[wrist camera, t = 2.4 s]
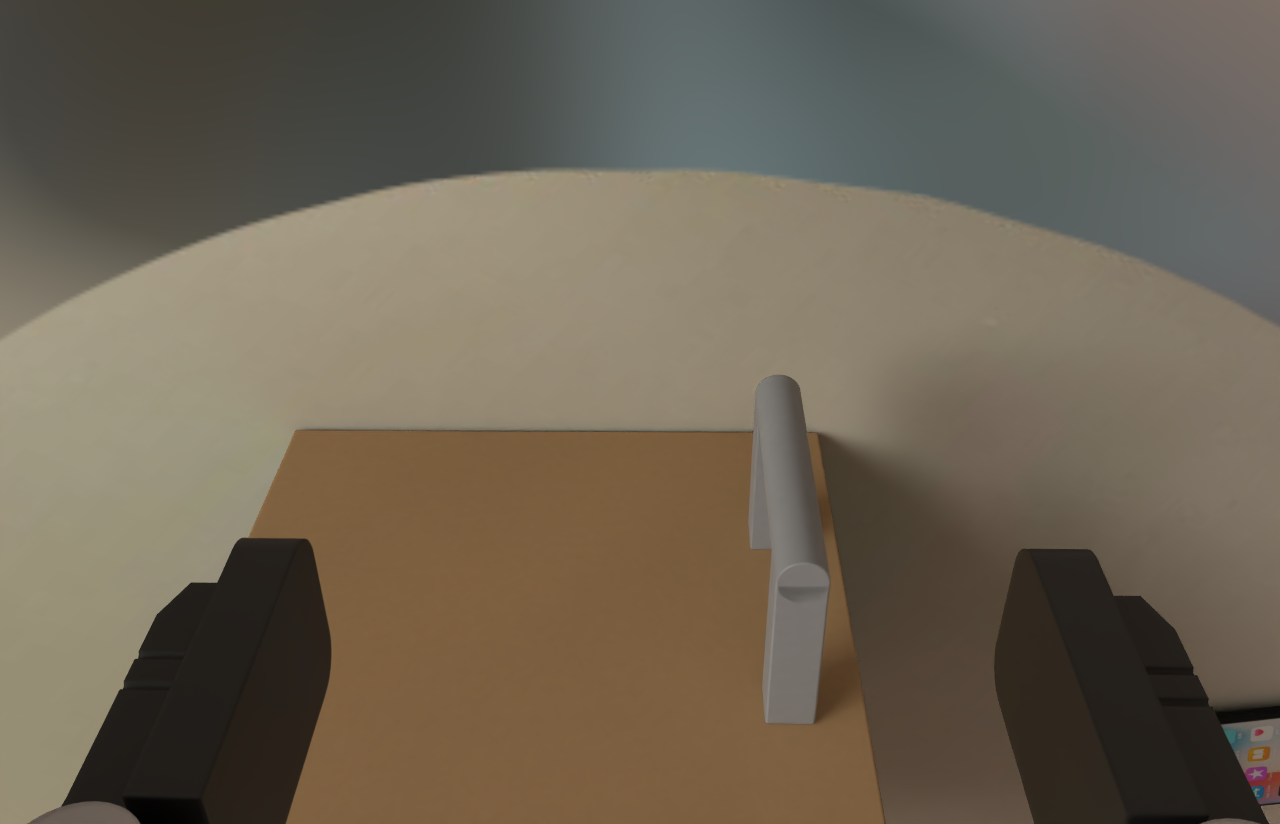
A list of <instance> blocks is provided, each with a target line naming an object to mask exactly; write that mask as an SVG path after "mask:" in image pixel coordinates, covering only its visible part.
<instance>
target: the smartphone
mask: <svg viewBox="0 0 1280 824" xmlns="http://www.w3.org/2000/svg"><path fill="white" fill-rule="evenodd" d="M1216 715H1217V717H1218V720H1219V722H1220V724H1221V726H1222V728H1223V730H1224V732H1225V734H1226V736H1227V738H1228V740H1229V742H1230V745H1231V747H1232V749H1233V751H1234V753H1235V755H1236V757H1237V759H1238V761H1239V763H1240V765H1241V767H1242V769H1243V772H1244V774H1245V776H1246V778H1247V780H1248V782H1249V784H1250V786H1251V788H1252V790H1253V792H1254V794H1255V796H1256V799H1257V801H1258V803H1259V805H1260V806H1263V805H1273V804H1280V706H1278V707H1268V708H1259V709H1250V710H1241V711H1231V712H1222V713H1216Z"/></svg>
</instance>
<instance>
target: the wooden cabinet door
mask: <svg viewBox="0 0 1280 824" xmlns="http://www.w3.org/2000/svg"><path fill="white" fill-rule="evenodd" d="M248 538H305V539H308V540H309V542H310V543H311V545H312V548H313V552H314V556H315V561H316V566H317V571H318V575H319V580H320V585H321V590H322V595H323V600H324V605H325V610H326V615H327V620H328V625H329V630H330V635H331V648H332V657H331V670H330V678H329V683H328V687H327V691H326V695H325V698H324V701H323V704H322V708H321V711H320V714H319V717H318V721H317V724H316V727H315V730H314V734H313V737H312V740H311V743H310V747H309V750H308V753H307V756H306V760H305V763H304V766H303V769H302V773H301V776H300V779H299V782H298V786H297V789H296V792H295V795H294V799H293V802H292V805H291V808H290V812H289V815H288V818H287V821H286V824H886V822H885V816H884V811H883V805H882V799H881V793H880V788H879V782H878V776H877V770H876V765H875V759H874V753H873V747H872V741H871V736H870V730H869V724H868V718H867V713H866V707H865V701H864V695H863V690H862V684H861V678H860V672H859V667H858V661H857V655H856V649H855V644H854V638H853V632H852V626H851V621H850V615H849V609H848V603H847V598H846V592H845V586H844V580H843V574H842V569H841V563H840V557H839V551H838V546H837V540H836V534H835V528H834V523H833V517H832V511H831V505H830V500H829V494H828V488H827V482H826V477H825V471H824V465H823V459H822V454H821V448H820V442H819V436H818V434H817V433H807V430H806V423H805V417H804V411H803V405H802V399H801V392H800V388H799V385H798V384H797V382H796V381H795V380H793V379H792V378H790V377H788V376H785V375H772V376H769V377H767V378H765V379H764V380H762V381H761V382H760V384H759V385H758V386H757V389H756V393H755V409H754V427H753V433H737V432H536V431H335V430H296V431H295V433H294V435H293V437H292V439H291V442H290V444H289V446H288V449H287V451H286V453H285V455H284V458H283V460H282V462H281V464H280V467H279V469H278V471H277V474H276V476H275V478H274V480H273V483H272V485H271V487H270V490H269V492H268V494H267V496H266V499H265V501H264V503H263V505H262V508H261V510H260V512H259V515H258V517H257V519H256V521H255V524H254V526H253V528H252V531H251V533H250V535H249V537H248Z"/></svg>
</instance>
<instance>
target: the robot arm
mask: <svg viewBox="0 0 1280 824" xmlns="http://www.w3.org/2000/svg"><path fill="white" fill-rule="evenodd" d="M331 657H332V648H331V635H330V630H329V625H328V620H327V615H326V610H325V605H324V600H323V595H322V590H321V585H320V580H319V575H318V571H317V566H316V561H315V556H314V552H313V548H312V545H311V543H310V542H309V540H308V539H305V538H241V539H239V540H238V541H237V542H236V544H235V545H234V547H233V549H232V551H231V554H230V556H229V558H228V560H227V562H226V565H225V567H224V569H223V571H222V574H221V576H220V578H219V580H218V583H190V584H189V585H188V586H187V587H186V588H185V589H184V590H183V591H182V592H181V593H179V594H178V595H177V596H176V597H175V598H174V599H173V600H172V601H171V602H170V603H169V604H168V605H167V606H166V607H165V608H163V609H162V610H161V611H160V612H159V613H158V614H157V615H156V617H155V619H154V621H153V623H152V625H151V627H150V630H149V632H148V634H147V636H146V638H145V640H144V642H143V644H142V646H141V648H140V650H139V657H138V659H135V660H134V662H133V664H132V666H131V668H130V670H129V672H128V674H127V676H126V678H125V680H124V688H123V689H120V690H119V692H118V694H117V696H116V698H115V700H114V702H113V704H112V706H111V708H110V710H109V713H108V715H107V717H106V719H105V721H104V723H103V725H102V727H101V729H100V731H99V733H98V735H97V737H96V739H95V741H94V743H93V745H92V747H91V749H90V751H89V753H88V755H87V757H86V759H85V761H84V763H83V765H82V767H81V769H80V771H79V773H78V775H77V777H76V779H75V781H74V783H73V785H72V787H71V789H70V791H69V793H68V796H67V798H66V799H65V801H64V803H63V804H62V806H61V807H59V808H57V809H54V810H52V811H49V812H47V813H45V814H43V815H41V816H39V817H38V818H36V819H34V820H32V821H31V822H30V823H28V824H286V821H287V818H288V815H289V812H290V808H291V805H292V802H293V799H294V795H295V792H296V789H297V786H298V782H299V779H300V776H301V773H302V769H303V766H304V763H305V760H306V756H307V753H308V750H309V747H310V743H311V740H312V737H313V734H314V730H315V727H316V724H317V721H318V717H319V714H320V711H321V708H322V704H323V701H324V698H325V695H326V691H327V687H328V683H329V678H330V670H331ZM994 670H995V684H996V691H997V697H998V701H999V705H1000V708H1001V711H1002V715H1003V718H1004V722H1005V725H1006V728H1007V732H1008V735H1009V739H1010V742H1011V745H1012V749H1013V752H1014V756H1015V759H1016V762H1017V766H1018V769H1019V773H1020V776H1021V780H1022V783H1023V786H1024V790H1025V793H1026V797H1027V800H1028V803H1029V807H1030V810H1031V814H1032V817H1033V820H1034V824H1269V823H1268V821H1267V819H1266V817H1265V815H1264V813H1263V811H1262V809H1261V807H1260V805H1259V803H1258V801H1257V799H1256V796H1255V794H1254V792H1253V790H1252V788H1251V786H1250V784H1249V782H1248V780H1247V778H1246V776H1245V774H1244V772H1243V769H1242V767H1241V765H1240V763H1239V761H1238V759H1237V757H1236V755H1235V753H1234V751H1233V749H1232V747H1231V745H1230V742H1229V740H1228V738H1227V736H1226V734H1225V732H1224V730H1223V728H1222V726H1221V724H1220V722H1219V720H1218V717H1217V715H1216V713H1215V711H1214V709H1213V707H1209V705H1208V697H1207V695H1206V693H1205V690H1204V688H1203V686H1202V684H1201V682H1200V680H1199V678H1198V676H1197V675H1194V673H1193V666H1192V663H1191V661H1190V659H1189V657H1188V655H1187V653H1186V651H1185V649H1184V647H1183V645H1182V643H1181V641H1180V639H1179V636H1178V634H1177V632H1176V630H1175V629H1174V628H1173V627H1172V626H1171V625H1170V624H1169V623H1168V622H1167V621H1166V620H1165V619H1164V618H1163V617H1161V616H1160V615H1159V614H1158V613H1157V612H1156V611H1155V610H1154V609H1153V608H1152V607H1151V606H1150V605H1149V604H1148V603H1147V602H1146V601H1145V600H1144V599H1143V598H1142V597H1141V596H1113V593H1112V591H1111V589H1110V587H1109V584H1108V582H1107V580H1106V577H1105V575H1104V573H1103V571H1102V568H1101V566H1100V564H1099V561H1098V559H1097V557H1096V556H1095V554H1094V553H1093V552H1092V551H1091V550H1088V549H1022V550H1021V551H1020V552H1019V553H1018V555H1017V557H1016V560H1015V564H1014V568H1013V572H1012V577H1011V581H1010V586H1009V590H1008V594H1007V599H1006V603H1005V607H1004V612H1003V616H1002V621H1001V625H1000V629H999V634H998V638H997V643H996V649H995V661H994Z"/></svg>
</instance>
